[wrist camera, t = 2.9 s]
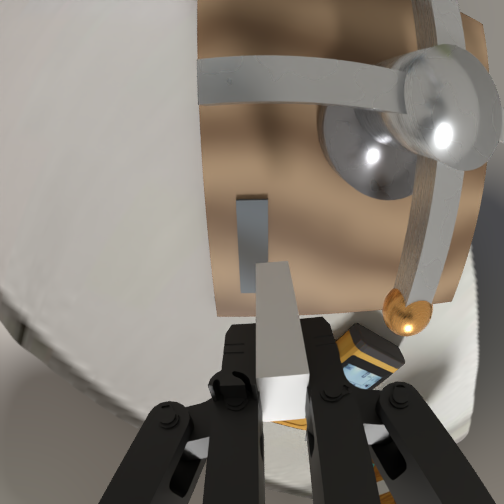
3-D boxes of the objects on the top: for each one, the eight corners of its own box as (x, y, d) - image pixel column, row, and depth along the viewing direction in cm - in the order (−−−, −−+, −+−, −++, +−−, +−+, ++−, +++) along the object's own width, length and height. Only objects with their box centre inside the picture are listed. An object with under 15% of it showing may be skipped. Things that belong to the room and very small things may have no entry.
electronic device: (255, 397, 31) (254, 421, 28) (351, 316, 24) (361, 342, 21) (307, 414, 33) (309, 435, 30) (399, 345, 26) (410, 368, 23)
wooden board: (201, -24, 11) (197, -33, 10) (474, 25, 11) (484, 23, 10) (218, 307, 23) (216, 319, 22) (445, 294, 23) (453, 303, 22)
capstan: (221, -31, 10) (200, -106, 3) (473, 21, 10) (546, 10, 2) (232, 268, 20) (220, 361, 12) (457, 261, 19) (513, 321, 12)
